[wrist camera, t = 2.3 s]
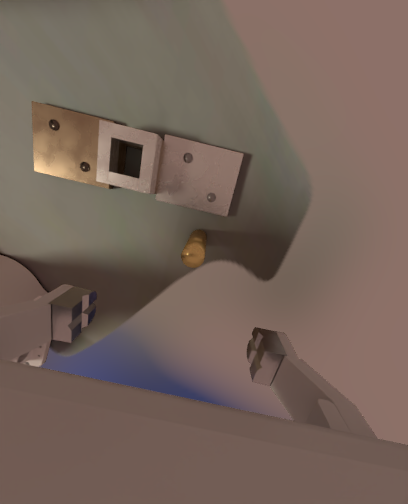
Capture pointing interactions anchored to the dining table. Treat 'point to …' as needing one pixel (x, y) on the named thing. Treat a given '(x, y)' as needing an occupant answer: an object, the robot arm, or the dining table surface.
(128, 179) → the hinge
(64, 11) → the dining table surface
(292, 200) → the dining table surface
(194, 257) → the brass pin
